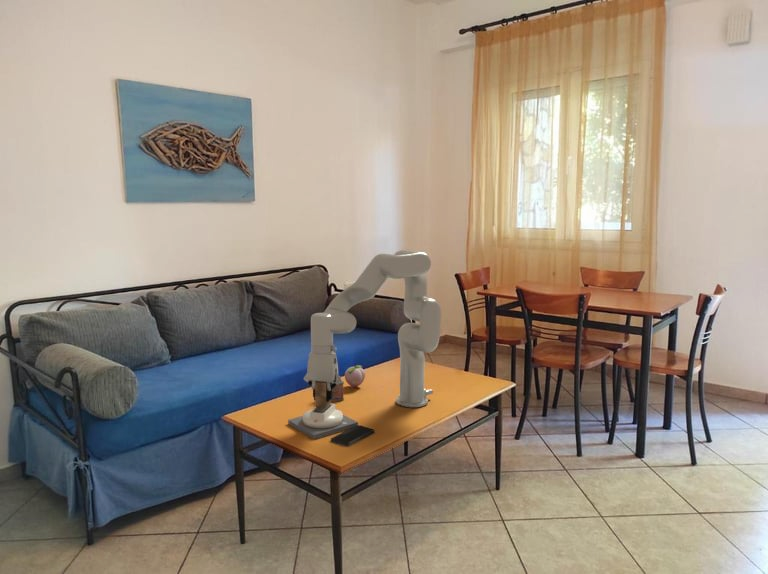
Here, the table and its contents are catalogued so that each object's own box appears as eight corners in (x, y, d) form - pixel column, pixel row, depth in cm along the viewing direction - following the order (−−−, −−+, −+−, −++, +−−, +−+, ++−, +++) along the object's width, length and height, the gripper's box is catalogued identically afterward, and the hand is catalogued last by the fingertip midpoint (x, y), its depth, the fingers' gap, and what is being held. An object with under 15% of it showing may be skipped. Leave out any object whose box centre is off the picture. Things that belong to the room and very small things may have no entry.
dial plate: (331, 412, 205) (331, 408, 204) (357, 426, 192) (357, 421, 191) (288, 423, 194) (288, 419, 193) (313, 439, 180) (313, 434, 180)
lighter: (345, 398, 219) (345, 374, 218) (341, 401, 216) (341, 377, 215) (326, 396, 222) (326, 372, 221) (323, 399, 219) (322, 375, 218)
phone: (376, 430, 187) (347, 444, 175) (375, 433, 187) (347, 448, 175) (358, 424, 191) (329, 438, 179) (358, 427, 191) (329, 441, 179)
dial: (312, 411, 201) (312, 399, 200) (348, 415, 197) (348, 403, 196) (295, 425, 188) (295, 413, 187) (334, 430, 184) (334, 417, 183)
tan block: (332, 411, 195) (331, 378, 193) (324, 418, 188) (324, 384, 186) (321, 409, 196) (321, 377, 194) (313, 416, 189) (313, 383, 188)
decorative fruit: (351, 382, 240) (351, 360, 238) (367, 385, 236) (367, 363, 235) (340, 389, 231) (340, 366, 230) (357, 391, 228) (357, 368, 227)
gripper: (348, 348, 190) (349, 398, 193) (304, 344, 195) (305, 394, 197) (341, 353, 183) (341, 406, 185) (295, 349, 188) (296, 401, 190)
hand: (322, 399), depth 191 cm, fingers closed on tan block, 4 cm apart
